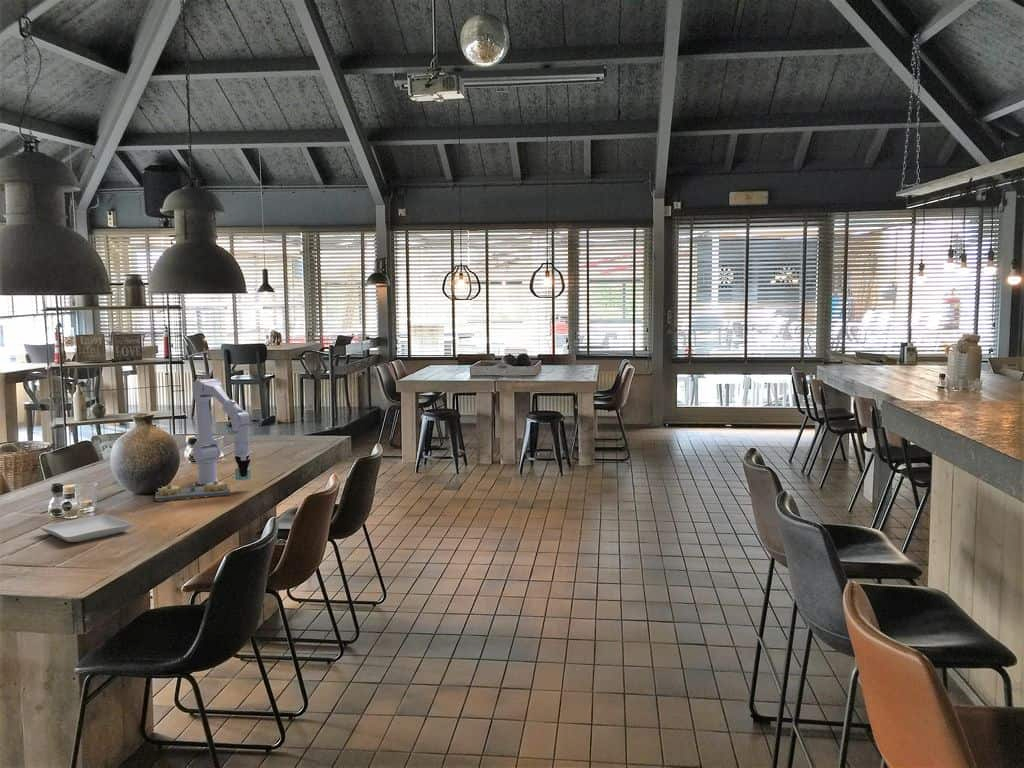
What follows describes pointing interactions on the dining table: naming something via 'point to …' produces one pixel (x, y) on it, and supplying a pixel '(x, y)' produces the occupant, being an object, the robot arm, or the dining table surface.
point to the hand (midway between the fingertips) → (243, 474)
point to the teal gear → (238, 477)
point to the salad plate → (87, 528)
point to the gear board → (192, 491)
